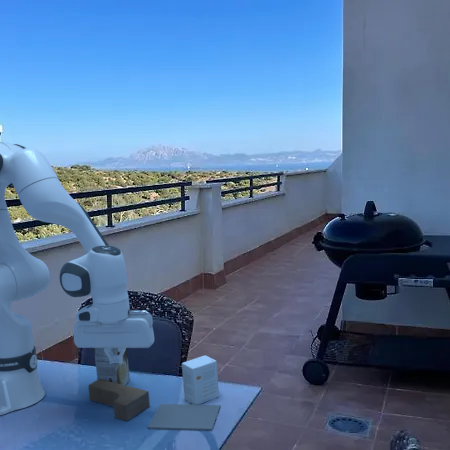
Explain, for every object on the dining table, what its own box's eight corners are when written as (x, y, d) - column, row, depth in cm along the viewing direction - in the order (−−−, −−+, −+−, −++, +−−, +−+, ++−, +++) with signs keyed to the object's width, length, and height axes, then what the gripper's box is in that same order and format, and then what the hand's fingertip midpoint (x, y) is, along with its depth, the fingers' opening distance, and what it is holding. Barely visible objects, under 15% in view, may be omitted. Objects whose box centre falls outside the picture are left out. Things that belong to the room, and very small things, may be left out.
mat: (147, 429, 131) (147, 427, 131) (160, 405, 143) (160, 403, 143) (212, 430, 129) (212, 428, 129) (220, 406, 141) (220, 405, 141)
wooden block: (125, 405, 135) (75, 391, 144) (127, 421, 135) (76, 407, 145) (148, 390, 142) (99, 378, 152) (150, 406, 143) (100, 393, 152)
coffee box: (110, 379, 162) (105, 328, 159) (130, 380, 160) (126, 328, 158) (97, 393, 153) (92, 339, 150) (119, 394, 152) (114, 339, 149)
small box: (208, 390, 151) (205, 354, 149) (219, 397, 146) (217, 360, 145) (183, 399, 146) (181, 362, 145) (194, 406, 142) (192, 368, 140)
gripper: (155, 306, 136) (159, 358, 138) (79, 307, 139) (84, 358, 141) (148, 314, 130) (152, 368, 132) (68, 314, 133) (73, 368, 135)
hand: (116, 363), depth 137 cm, fingers closed
